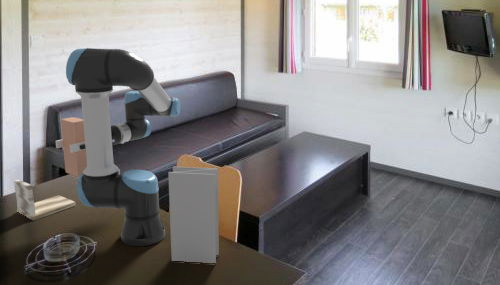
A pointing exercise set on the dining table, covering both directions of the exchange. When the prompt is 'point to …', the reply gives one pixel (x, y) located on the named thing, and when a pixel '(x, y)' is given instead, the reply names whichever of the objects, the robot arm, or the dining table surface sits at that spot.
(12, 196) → the dining table surface
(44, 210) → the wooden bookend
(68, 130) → the salmon pink rectangular block
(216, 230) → the brochure
